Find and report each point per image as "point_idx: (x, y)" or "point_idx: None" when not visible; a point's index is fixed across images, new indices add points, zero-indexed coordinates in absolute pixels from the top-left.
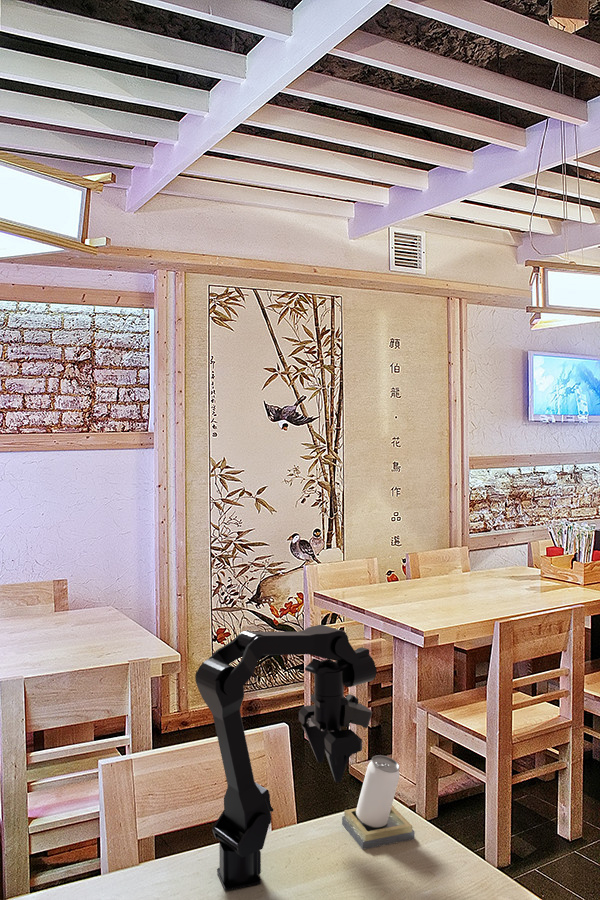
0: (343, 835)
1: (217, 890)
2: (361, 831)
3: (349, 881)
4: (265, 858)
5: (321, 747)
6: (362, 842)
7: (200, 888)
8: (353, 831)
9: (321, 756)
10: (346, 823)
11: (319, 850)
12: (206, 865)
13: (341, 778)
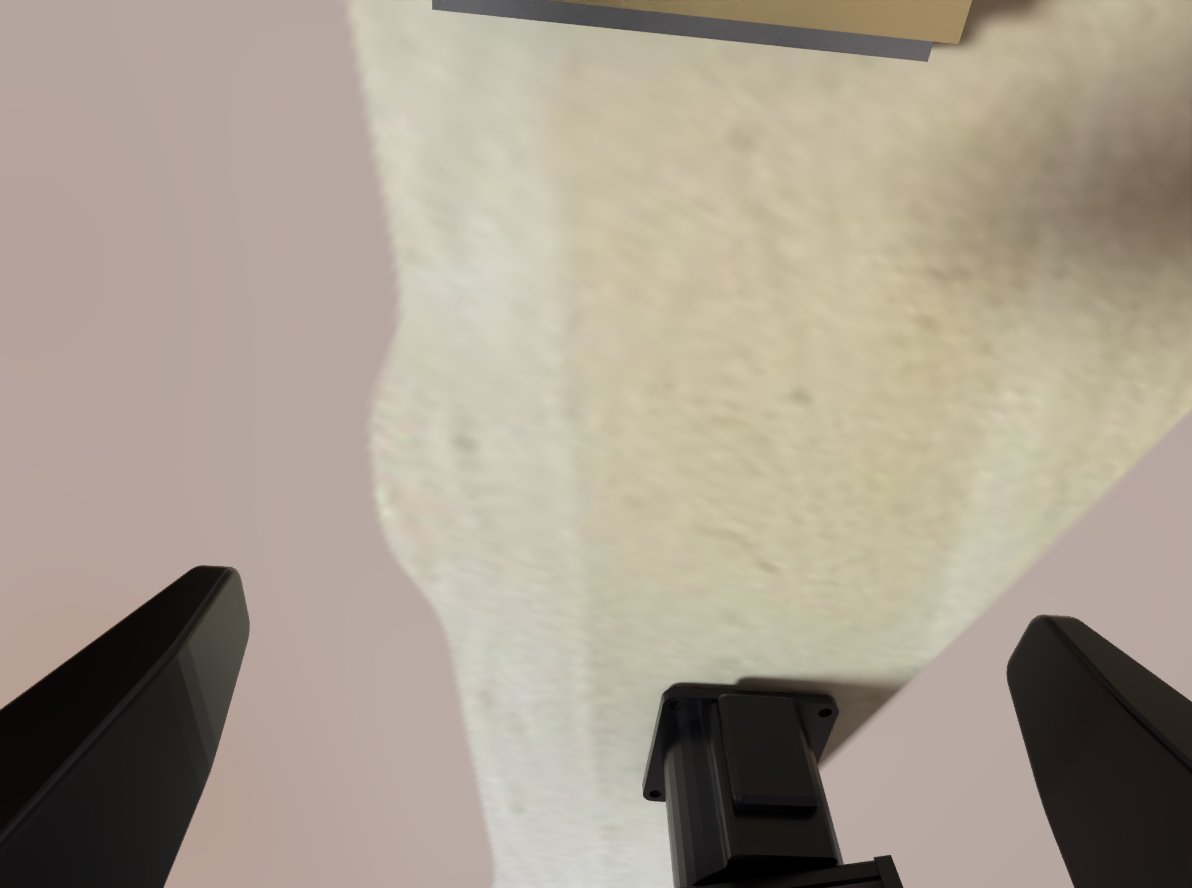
0: (625, 91)
1: None
2: (867, 32)
3: (1134, 340)
4: (642, 620)
5: (89, 838)
6: (916, 58)
7: None
8: (717, 39)
9: (203, 672)
10: (545, 18)
11: (723, 353)
12: (574, 800)
13: (1121, 661)
